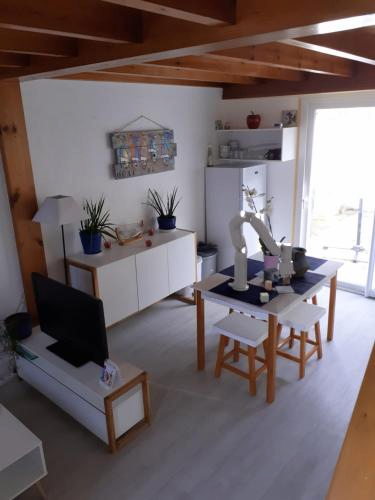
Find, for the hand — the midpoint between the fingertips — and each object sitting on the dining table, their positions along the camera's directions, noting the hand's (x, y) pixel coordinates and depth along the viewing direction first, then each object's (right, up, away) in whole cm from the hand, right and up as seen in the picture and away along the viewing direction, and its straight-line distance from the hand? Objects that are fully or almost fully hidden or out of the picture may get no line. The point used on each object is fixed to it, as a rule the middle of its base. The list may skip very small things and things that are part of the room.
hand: (285, 281), depth 313 cm
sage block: (-19, -13, -14) cm, 27 cm away
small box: (-7, -2, +18) cm, 20 cm away
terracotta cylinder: (-12, -6, +5) cm, 14 cm away
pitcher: (+15, +2, +27) cm, 31 cm away
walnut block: (0, -1, 0) cm, 1 cm away
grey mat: (0, -6, +2) cm, 7 cm away
